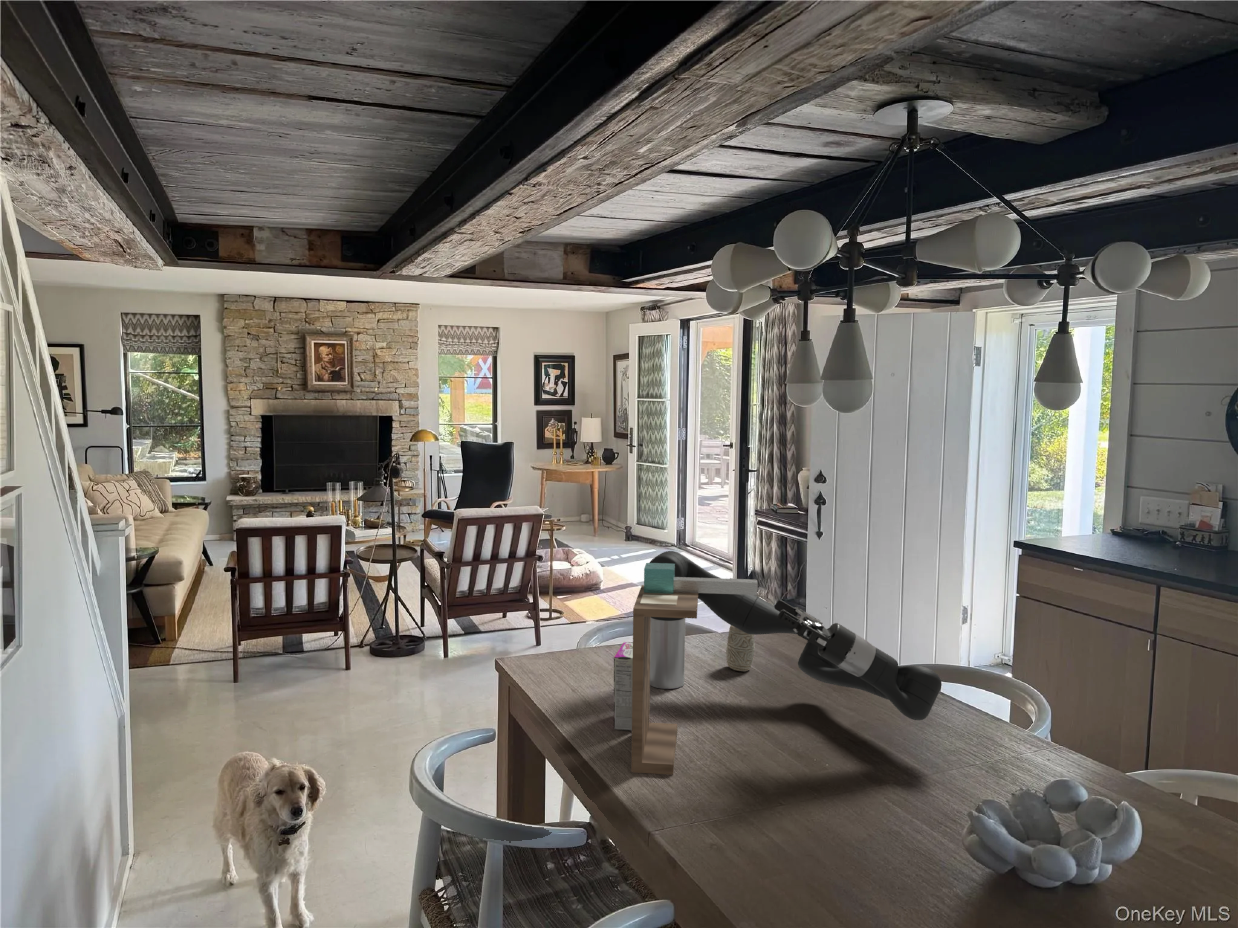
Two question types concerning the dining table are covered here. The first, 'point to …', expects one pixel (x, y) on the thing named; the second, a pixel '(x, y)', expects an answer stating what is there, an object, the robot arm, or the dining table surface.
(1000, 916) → the dining table surface
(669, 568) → the grey and teal bar
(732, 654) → the carving
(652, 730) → the bracket shelf
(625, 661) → the candy bar box
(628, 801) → the dining table surface
